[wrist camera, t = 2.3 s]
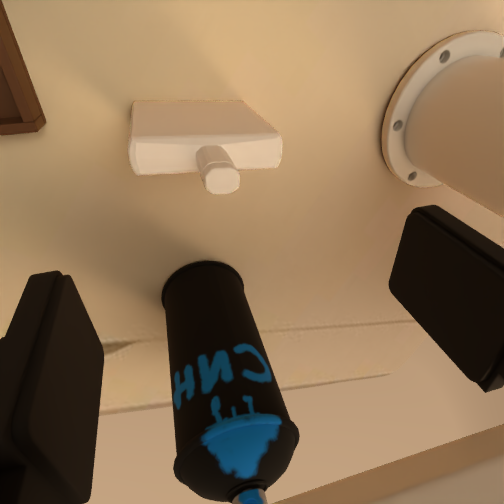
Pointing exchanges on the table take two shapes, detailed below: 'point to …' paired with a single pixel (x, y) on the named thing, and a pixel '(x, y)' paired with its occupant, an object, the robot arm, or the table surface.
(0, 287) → the table surface
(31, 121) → the tray
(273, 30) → the table surface
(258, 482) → the aerosol can
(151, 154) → the perfume bottle
